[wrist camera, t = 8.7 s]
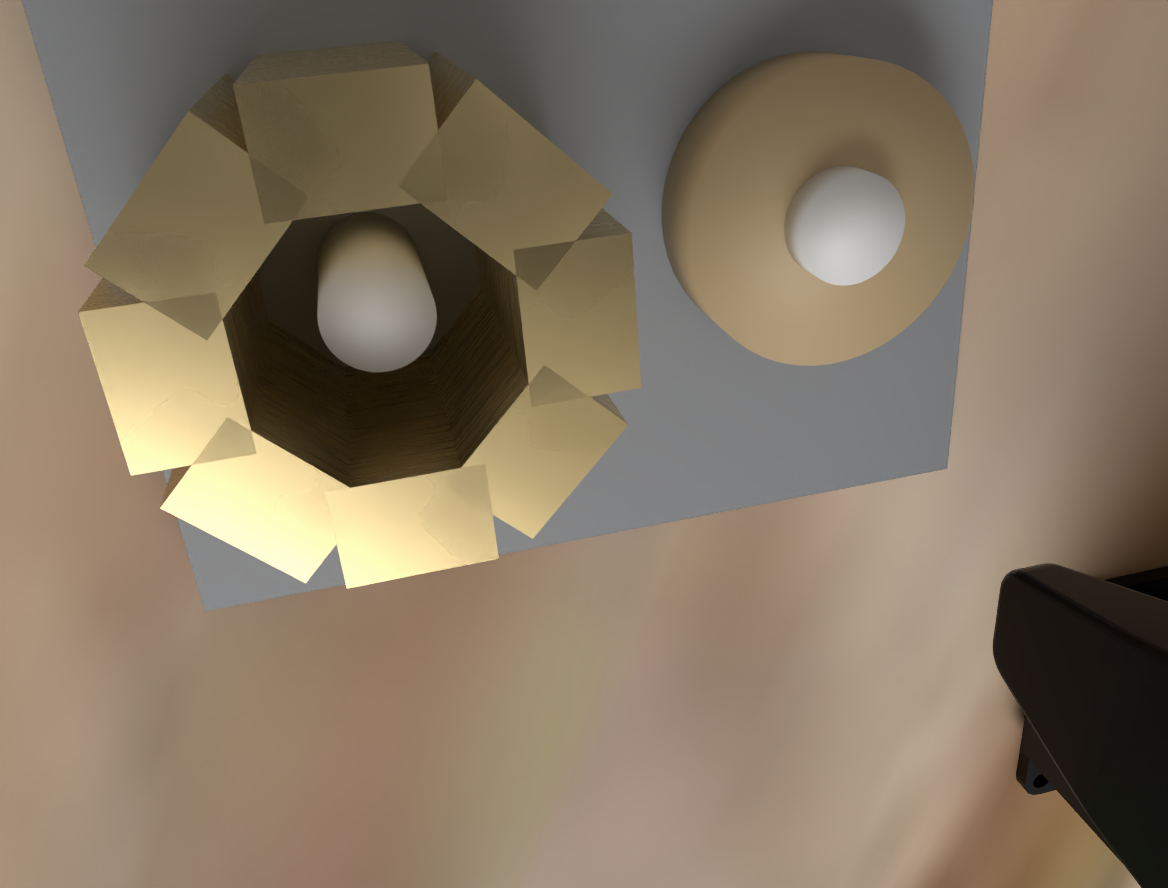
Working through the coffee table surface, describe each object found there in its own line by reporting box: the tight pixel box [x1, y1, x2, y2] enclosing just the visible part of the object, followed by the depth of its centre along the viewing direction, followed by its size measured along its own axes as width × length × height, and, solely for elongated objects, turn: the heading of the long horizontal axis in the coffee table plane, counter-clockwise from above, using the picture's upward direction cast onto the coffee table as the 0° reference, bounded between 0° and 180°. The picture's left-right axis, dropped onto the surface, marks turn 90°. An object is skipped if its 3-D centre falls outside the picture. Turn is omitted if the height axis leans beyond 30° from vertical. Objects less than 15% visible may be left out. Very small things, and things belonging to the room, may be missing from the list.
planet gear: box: [78, 40, 641, 588], centre depth 14 cm, size 6×6×4 cm
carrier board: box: [22, 0, 993, 611], centre depth 16 cm, size 15×12×4 cm
